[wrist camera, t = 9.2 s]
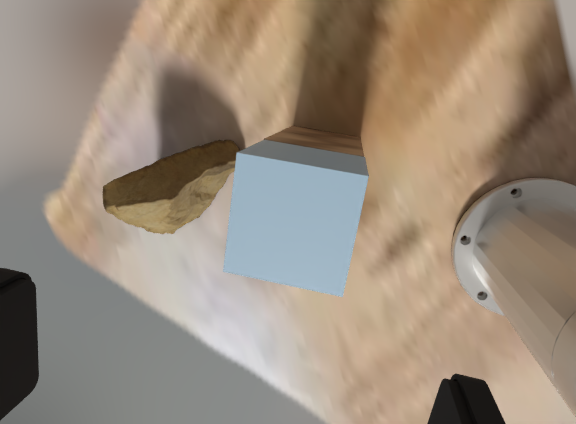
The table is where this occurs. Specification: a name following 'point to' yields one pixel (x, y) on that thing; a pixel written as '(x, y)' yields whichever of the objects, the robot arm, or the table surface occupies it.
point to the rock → (171, 187)
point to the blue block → (295, 215)
